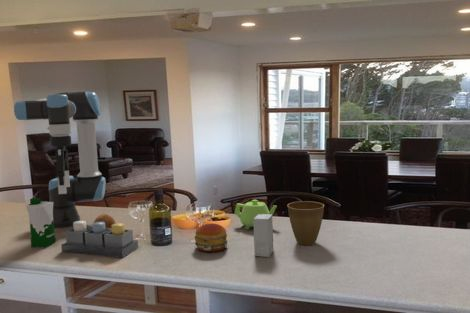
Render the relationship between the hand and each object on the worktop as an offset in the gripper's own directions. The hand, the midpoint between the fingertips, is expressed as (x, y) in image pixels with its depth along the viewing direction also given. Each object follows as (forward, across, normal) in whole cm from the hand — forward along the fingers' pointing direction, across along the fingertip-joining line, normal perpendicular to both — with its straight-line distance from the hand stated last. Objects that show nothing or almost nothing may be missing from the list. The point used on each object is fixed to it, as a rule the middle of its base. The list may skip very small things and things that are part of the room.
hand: (64, 190), depth 170 cm
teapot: (+26, -12, +81) cm, 86 cm away
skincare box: (+27, +23, +73) cm, 81 cm away
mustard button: (+20, +1, +19) cm, 28 cm away
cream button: (+20, -8, +4) cm, 22 cm away
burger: (+27, +10, +55) cm, 62 cm away
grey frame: (+26, -4, +12) cm, 29 cm away
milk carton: (+26, -19, -12) cm, 35 cm away
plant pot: (+27, +17, +93) cm, 99 cm away
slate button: (+20, -4, +11) cm, 24 cm away
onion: (+26, -23, +13) cm, 37 cm away
